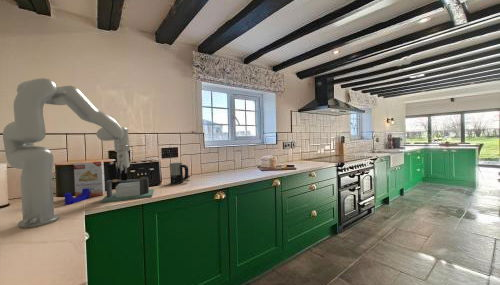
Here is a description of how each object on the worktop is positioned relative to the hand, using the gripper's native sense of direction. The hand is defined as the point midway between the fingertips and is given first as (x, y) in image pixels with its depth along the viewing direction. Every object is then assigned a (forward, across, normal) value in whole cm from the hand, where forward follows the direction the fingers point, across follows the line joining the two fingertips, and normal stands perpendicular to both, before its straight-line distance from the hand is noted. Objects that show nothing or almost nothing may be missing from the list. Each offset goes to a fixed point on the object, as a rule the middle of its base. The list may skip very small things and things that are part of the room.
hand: (124, 179), depth 133 cm
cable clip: (+10, +1, +24) cm, 26 cm away
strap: (+1, -1, -2) cm, 3 cm away
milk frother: (+11, +31, -32) cm, 46 cm away
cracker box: (+10, +12, +21) cm, 26 cm away
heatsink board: (+10, -1, -2) cm, 10 cm away
